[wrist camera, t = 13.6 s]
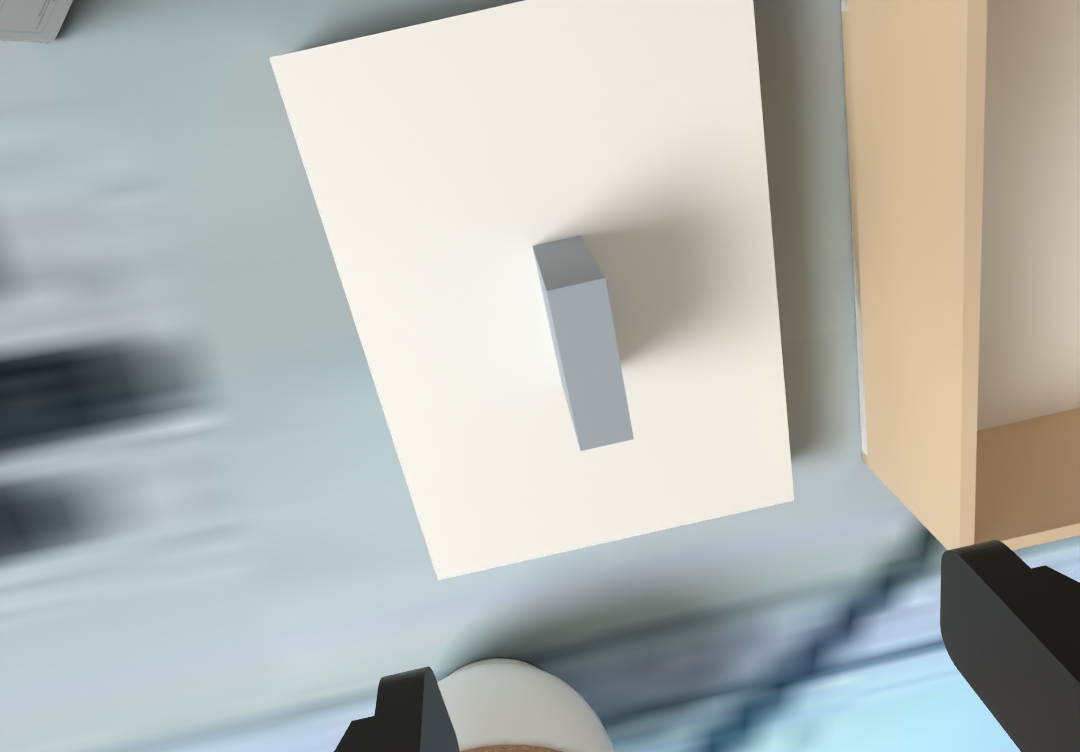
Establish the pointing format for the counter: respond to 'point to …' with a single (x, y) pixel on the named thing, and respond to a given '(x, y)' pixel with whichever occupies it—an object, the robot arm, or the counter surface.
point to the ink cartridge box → (32, 19)
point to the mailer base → (968, 260)
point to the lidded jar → (519, 710)
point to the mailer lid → (557, 265)
